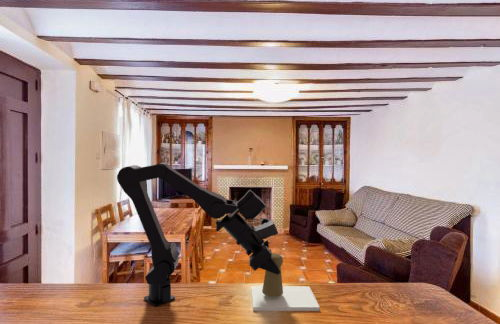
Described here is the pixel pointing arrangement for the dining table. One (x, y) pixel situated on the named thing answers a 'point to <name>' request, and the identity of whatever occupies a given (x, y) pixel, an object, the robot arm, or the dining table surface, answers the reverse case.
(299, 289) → the white board
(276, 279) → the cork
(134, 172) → the robot arm
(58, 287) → the dining table surface
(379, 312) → the dining table surface
